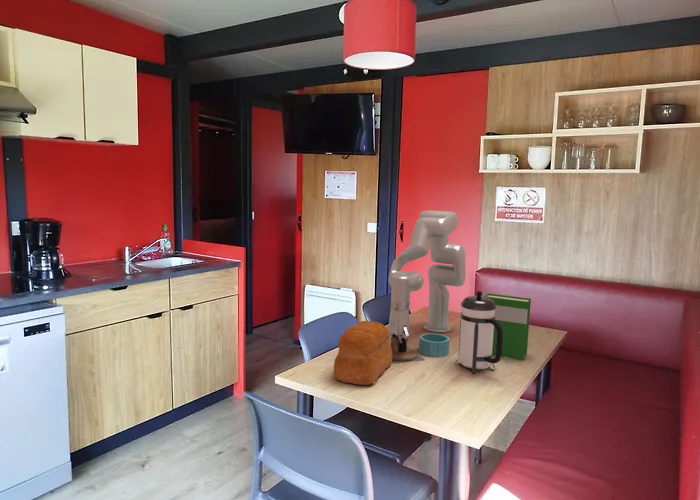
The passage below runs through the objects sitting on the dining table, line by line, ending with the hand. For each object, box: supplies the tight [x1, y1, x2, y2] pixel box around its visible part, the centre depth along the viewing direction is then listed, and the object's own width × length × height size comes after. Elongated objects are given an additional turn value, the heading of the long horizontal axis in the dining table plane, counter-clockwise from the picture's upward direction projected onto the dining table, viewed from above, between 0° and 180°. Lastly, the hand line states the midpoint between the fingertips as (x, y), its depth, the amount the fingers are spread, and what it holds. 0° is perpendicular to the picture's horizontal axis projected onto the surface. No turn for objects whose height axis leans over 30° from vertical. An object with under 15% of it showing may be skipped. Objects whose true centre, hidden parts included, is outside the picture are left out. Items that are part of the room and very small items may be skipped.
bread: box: [333, 320, 392, 386], centre depth 176 cm, size 16×26×17 cm, turn 157°
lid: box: [390, 336, 418, 363], centre depth 194 cm, size 15×15×7 cm
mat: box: [391, 346, 426, 365], centre depth 194 cm, size 16×16×1 cm
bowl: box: [418, 332, 450, 358], centre depth 199 cm, size 12×12×6 cm
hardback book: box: [482, 292, 532, 361], centre depth 199 cm, size 18×7×24 cm, turn 62°
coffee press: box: [454, 290, 503, 375], centre depth 181 cm, size 17×16×30 cm
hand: (398, 348), depth 194 cm, fingers open, 6 cm apart
